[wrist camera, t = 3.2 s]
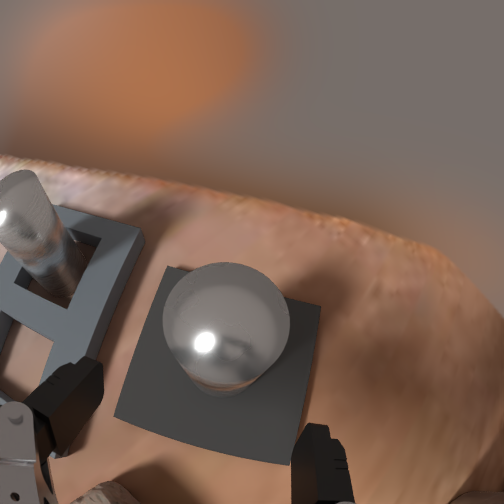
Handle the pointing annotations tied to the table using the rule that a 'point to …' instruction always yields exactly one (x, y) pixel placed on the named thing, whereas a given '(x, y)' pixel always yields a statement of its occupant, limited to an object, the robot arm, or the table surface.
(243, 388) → the cylinder
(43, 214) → the cylinder
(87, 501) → the brick
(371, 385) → the table surface
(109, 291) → the grey slotted holder
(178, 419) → the mat
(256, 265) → the table surface
